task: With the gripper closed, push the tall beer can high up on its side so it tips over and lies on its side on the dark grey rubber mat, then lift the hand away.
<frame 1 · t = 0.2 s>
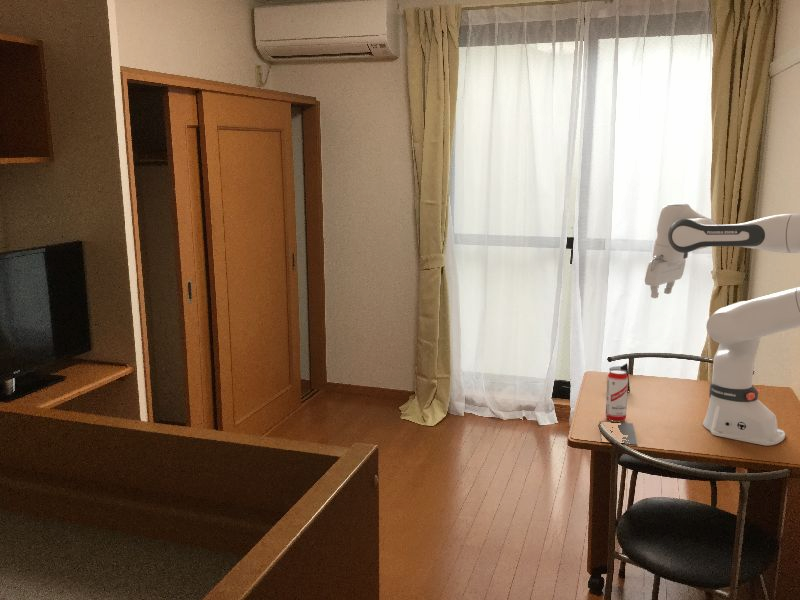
hand: (660, 295, 223), 39 cm above the table, tool pointing down, fingers open, 8 cm apart
beer can: (615, 419, 222), on the table
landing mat: (617, 433, 210), on the table
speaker: (618, 391, 249), on the table
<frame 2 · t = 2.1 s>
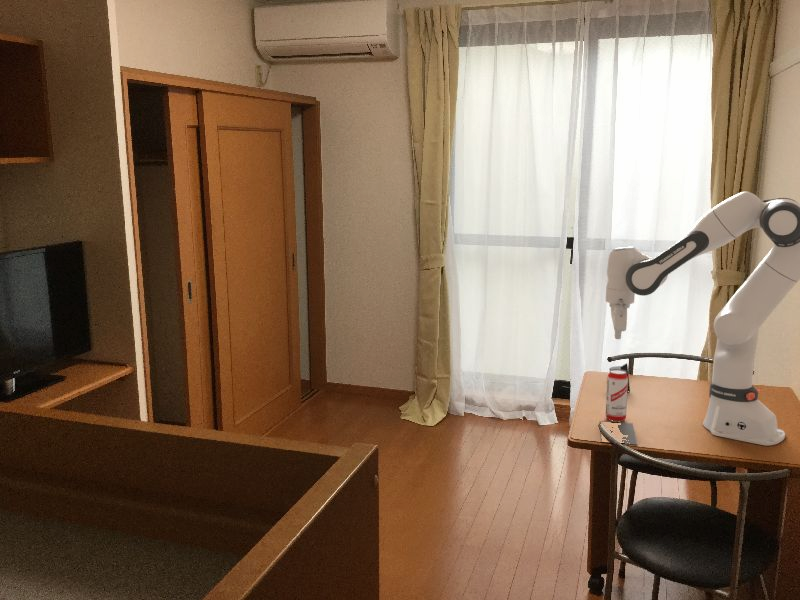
hand: (617, 338, 224), 25 cm above the table, tool pointing down, fingers closed
nothing on the table moved.
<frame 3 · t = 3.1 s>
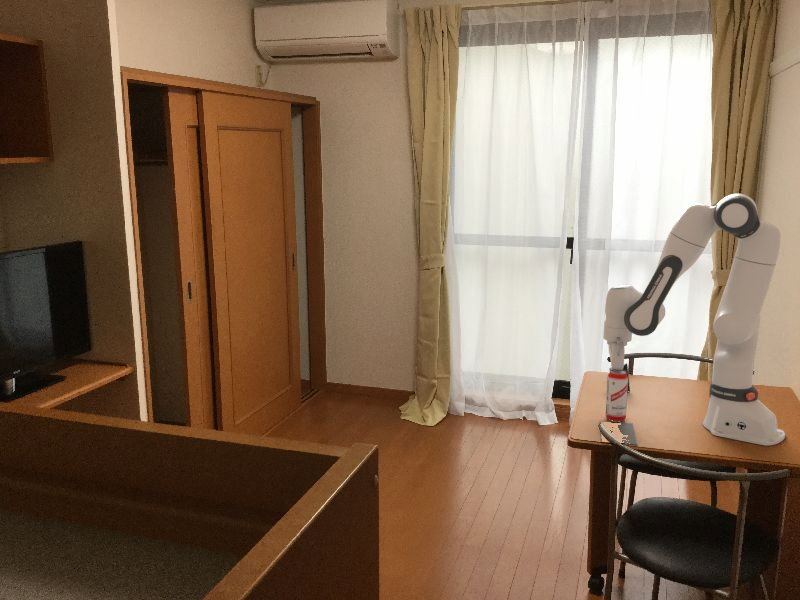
hand: (615, 374, 227), 12 cm above the table, tool pointing down, fingers closed
nothing on the table moved.
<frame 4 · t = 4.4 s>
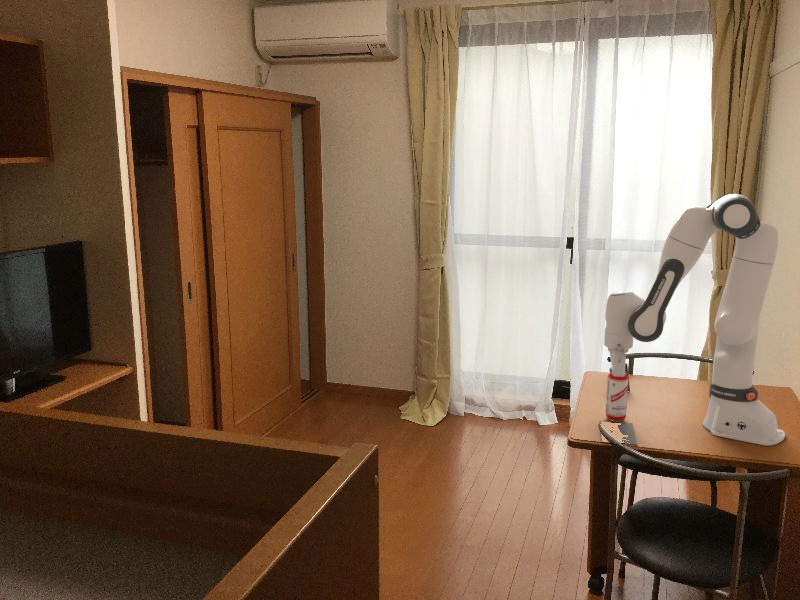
hand: (616, 382, 223), 11 cm above the table, tool pointing down, fingers closed
beer can: (615, 418, 221), on the table, touching gripper
everything else where it was.
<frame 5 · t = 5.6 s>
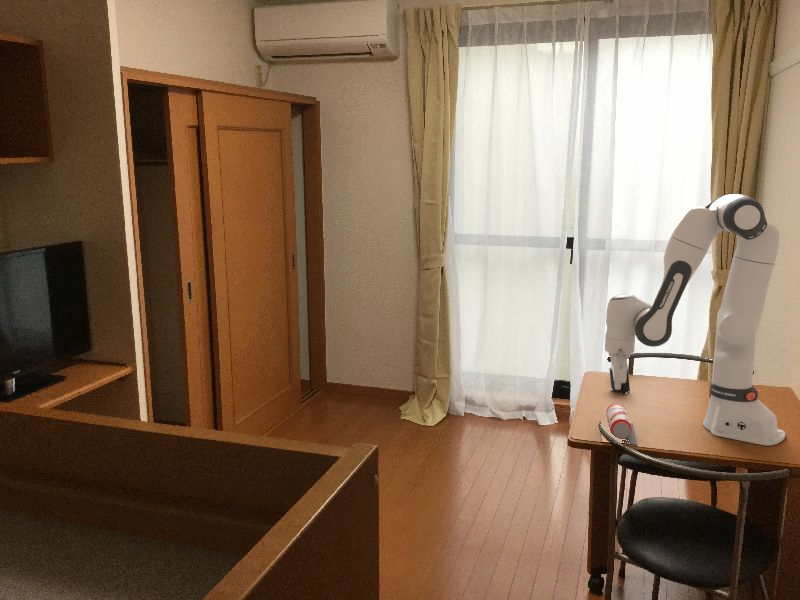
hand: (617, 388, 217), 11 cm above the table, tool pointing down, fingers closed
beer can: (615, 411, 218), point 3 cm above the table, touching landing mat
everything else where it was.
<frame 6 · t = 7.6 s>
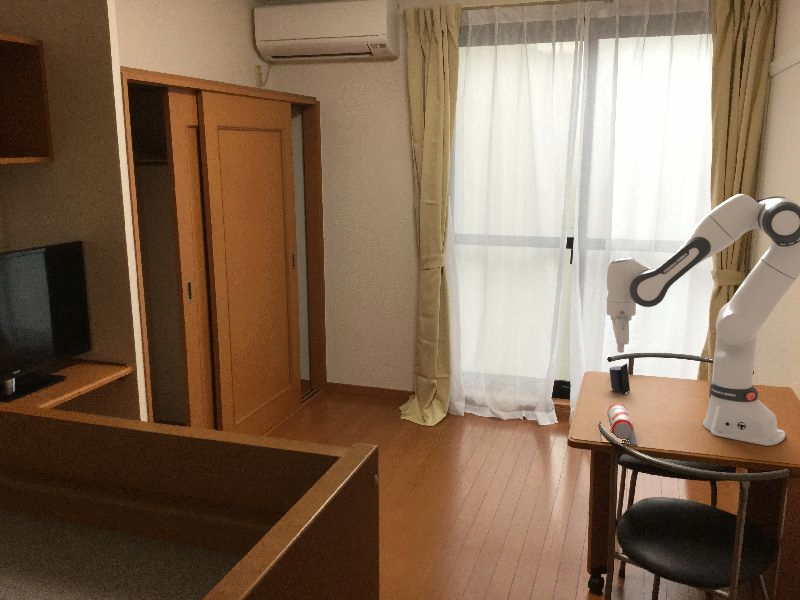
hand: (620, 351, 220), 22 cm above the table, tool pointing down, fingers closed
nothing on the table moved.
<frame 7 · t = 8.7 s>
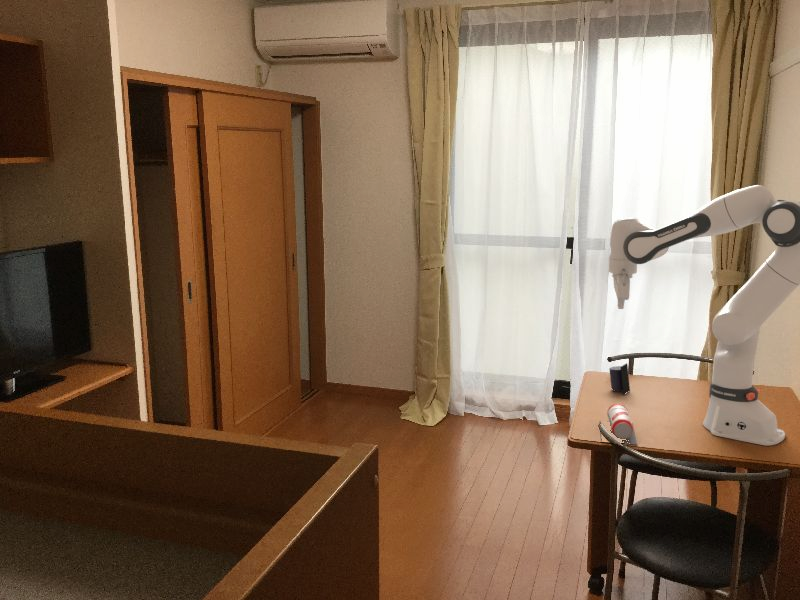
hand: (620, 308, 230), 33 cm above the table, tool pointing down, fingers closed
nothing on the table moved.
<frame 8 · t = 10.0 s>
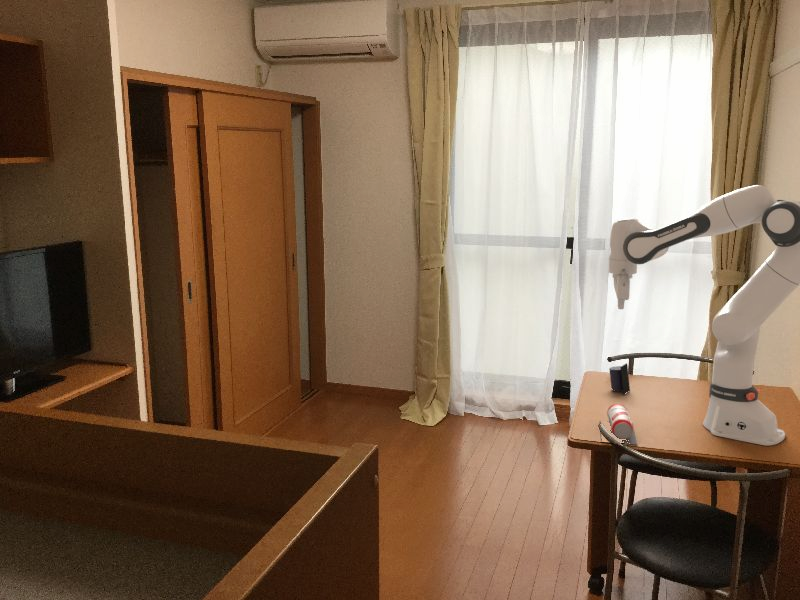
hand: (620, 308, 230), 33 cm above the table, tool pointing down, fingers closed
nothing on the table moved.
at the end: beer can tilted 90°; beer can touching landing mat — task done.
